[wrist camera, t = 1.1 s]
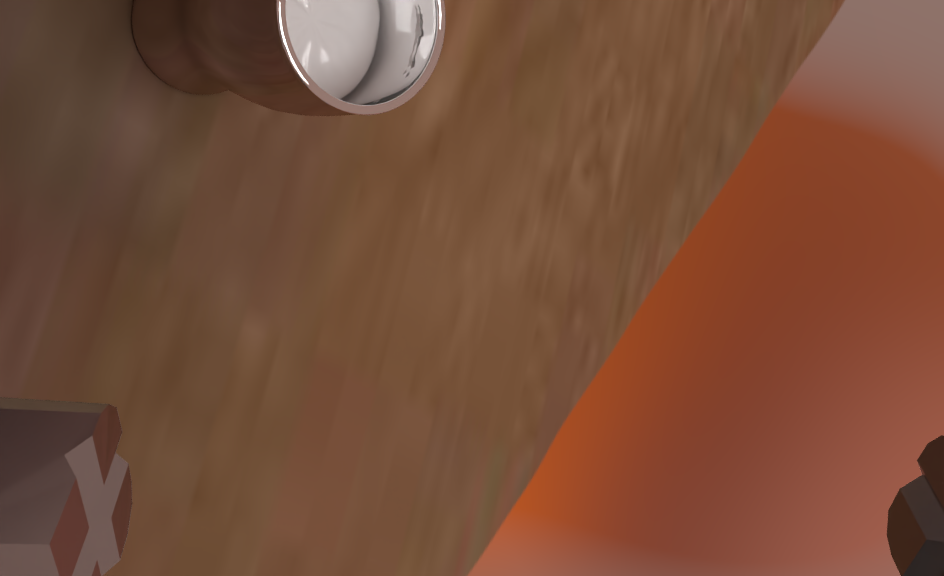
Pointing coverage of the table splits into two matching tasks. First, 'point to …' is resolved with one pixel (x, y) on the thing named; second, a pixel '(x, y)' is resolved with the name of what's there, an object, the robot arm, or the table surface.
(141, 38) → the beer glass
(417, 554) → the table surface
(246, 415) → the table surface
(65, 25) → the table surface
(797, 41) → the table surface
